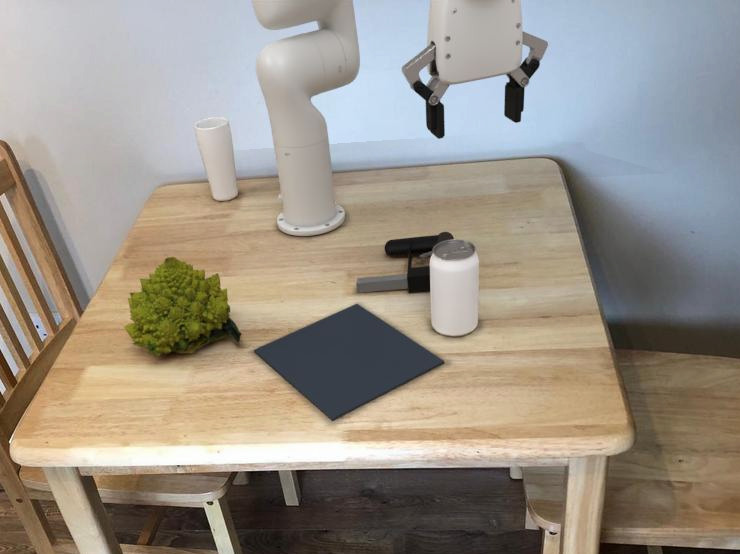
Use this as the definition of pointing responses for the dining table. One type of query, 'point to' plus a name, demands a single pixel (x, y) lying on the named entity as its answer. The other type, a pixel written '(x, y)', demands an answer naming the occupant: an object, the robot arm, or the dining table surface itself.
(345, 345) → the mat
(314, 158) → the robot arm
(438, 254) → the can
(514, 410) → the dining table surface
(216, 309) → the vegetable
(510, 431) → the dining table surface
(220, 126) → the drinking glass
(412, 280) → the door handle
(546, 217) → the dining table surface
